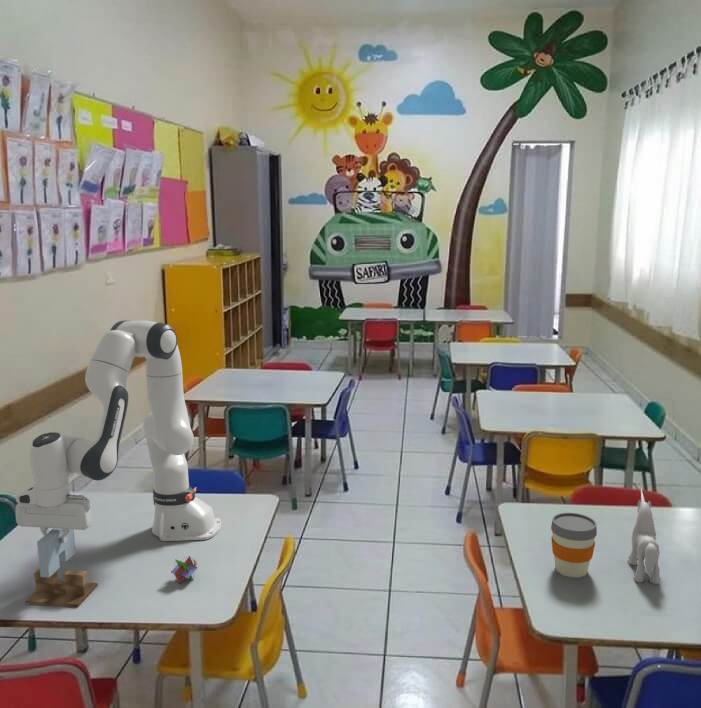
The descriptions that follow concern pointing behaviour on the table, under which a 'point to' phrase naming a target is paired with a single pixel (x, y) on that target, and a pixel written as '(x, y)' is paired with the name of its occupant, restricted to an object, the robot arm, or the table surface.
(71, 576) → the jig
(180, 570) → the geometric puzzle
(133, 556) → the table surface
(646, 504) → the unicorn
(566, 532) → the reusable coffee cup
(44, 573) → the slotted plate
